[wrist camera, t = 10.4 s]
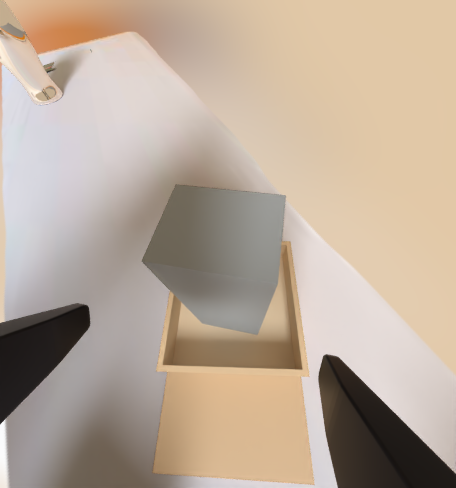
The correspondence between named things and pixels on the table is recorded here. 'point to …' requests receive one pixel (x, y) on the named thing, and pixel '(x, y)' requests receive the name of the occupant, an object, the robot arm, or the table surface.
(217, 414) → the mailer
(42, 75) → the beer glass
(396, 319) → the table surface
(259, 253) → the slate block
